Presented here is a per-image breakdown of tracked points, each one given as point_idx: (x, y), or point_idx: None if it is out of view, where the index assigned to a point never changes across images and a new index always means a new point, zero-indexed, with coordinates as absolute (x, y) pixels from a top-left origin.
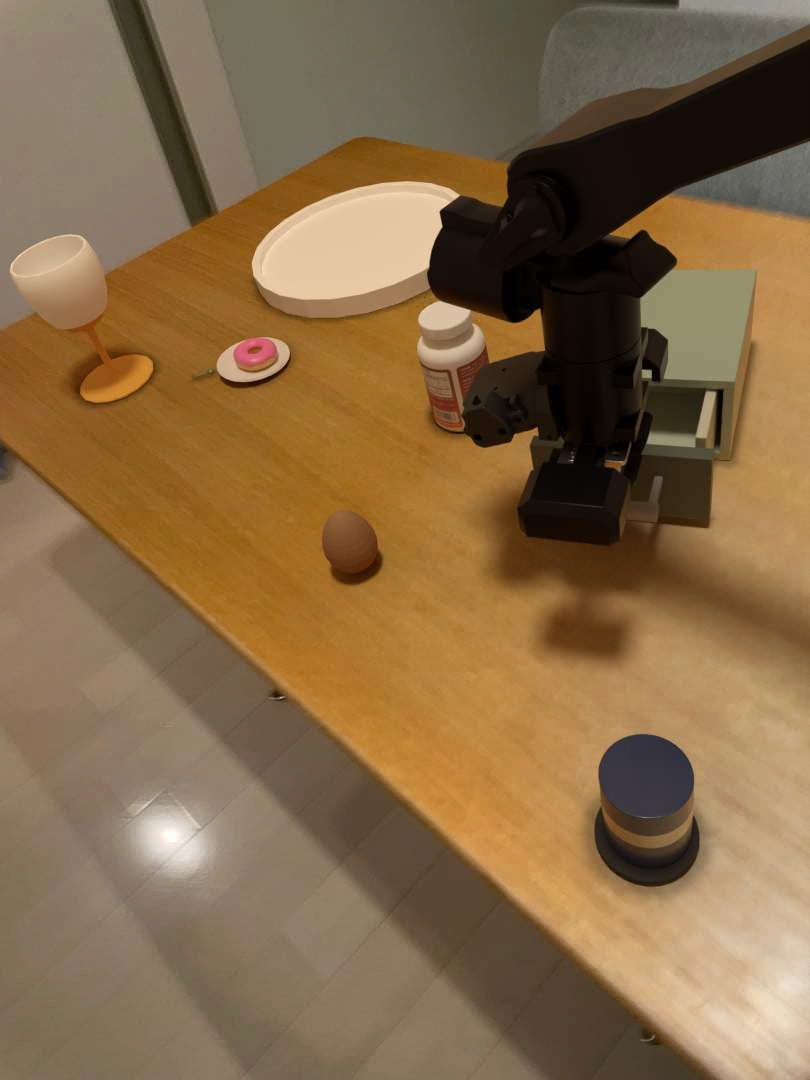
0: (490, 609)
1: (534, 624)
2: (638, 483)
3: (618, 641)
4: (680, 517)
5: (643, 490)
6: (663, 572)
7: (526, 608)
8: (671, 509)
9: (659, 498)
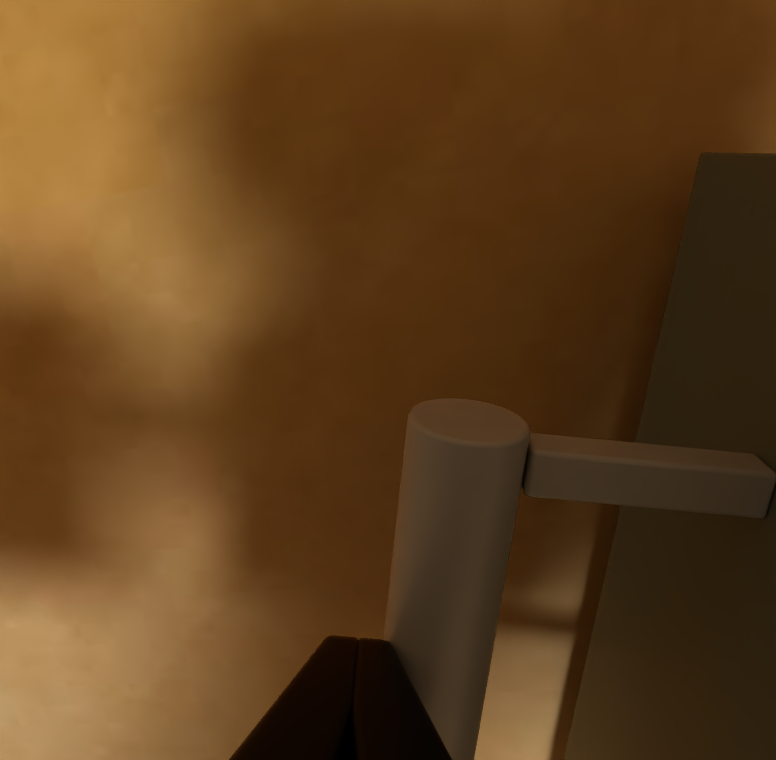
0: (30, 20)
1: (4, 243)
2: (657, 739)
3: (15, 545)
4: (570, 728)
5: (638, 719)
6: None
7: (76, 194)
8: (585, 733)
9: (610, 742)
